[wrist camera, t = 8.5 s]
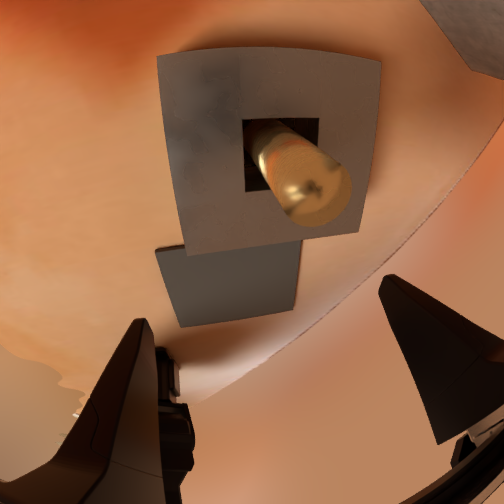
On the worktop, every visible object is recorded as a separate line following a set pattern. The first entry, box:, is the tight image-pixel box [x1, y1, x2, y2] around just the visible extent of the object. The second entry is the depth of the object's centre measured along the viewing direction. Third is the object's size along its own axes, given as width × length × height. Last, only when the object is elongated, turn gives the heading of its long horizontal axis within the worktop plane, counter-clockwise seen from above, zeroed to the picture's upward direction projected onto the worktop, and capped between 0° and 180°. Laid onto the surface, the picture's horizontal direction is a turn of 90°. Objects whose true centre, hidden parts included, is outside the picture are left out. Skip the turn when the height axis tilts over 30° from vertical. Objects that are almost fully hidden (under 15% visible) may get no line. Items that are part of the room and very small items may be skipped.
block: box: [157, 47, 381, 256], centre depth 16 cm, size 12×12×4 cm
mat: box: [155, 240, 301, 328], centre depth 25 cm, size 12×10×1 cm
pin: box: [243, 118, 352, 227], centre depth 14 cm, size 3×3×9 cm
